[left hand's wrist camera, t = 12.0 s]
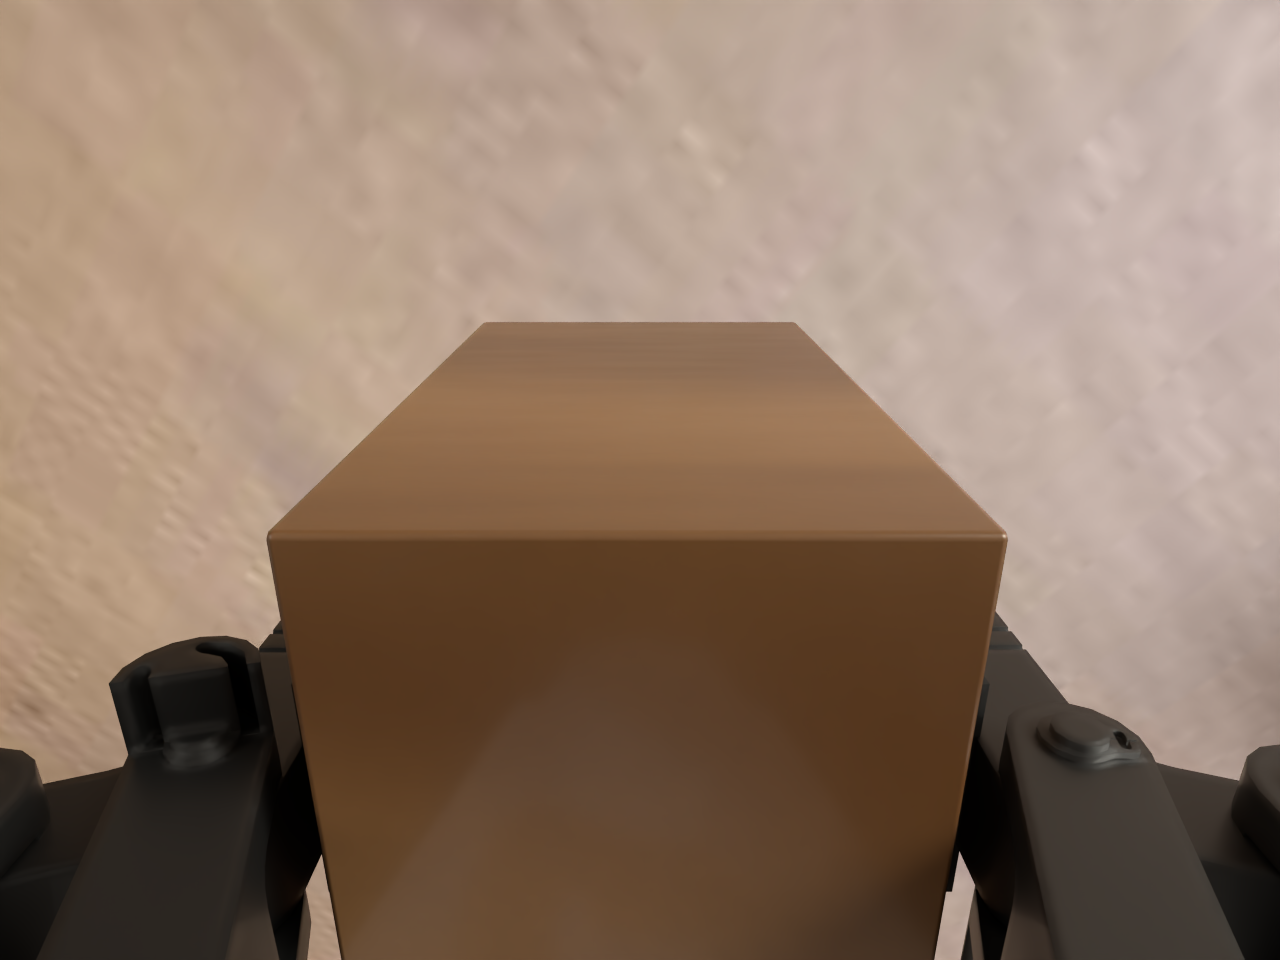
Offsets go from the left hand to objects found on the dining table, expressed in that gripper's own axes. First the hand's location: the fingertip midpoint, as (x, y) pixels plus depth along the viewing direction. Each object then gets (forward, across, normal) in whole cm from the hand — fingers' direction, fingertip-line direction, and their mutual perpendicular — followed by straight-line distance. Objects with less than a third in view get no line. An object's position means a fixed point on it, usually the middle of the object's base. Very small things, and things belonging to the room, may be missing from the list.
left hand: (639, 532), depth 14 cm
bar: (+1, 0, -10) cm, 10 cm away
